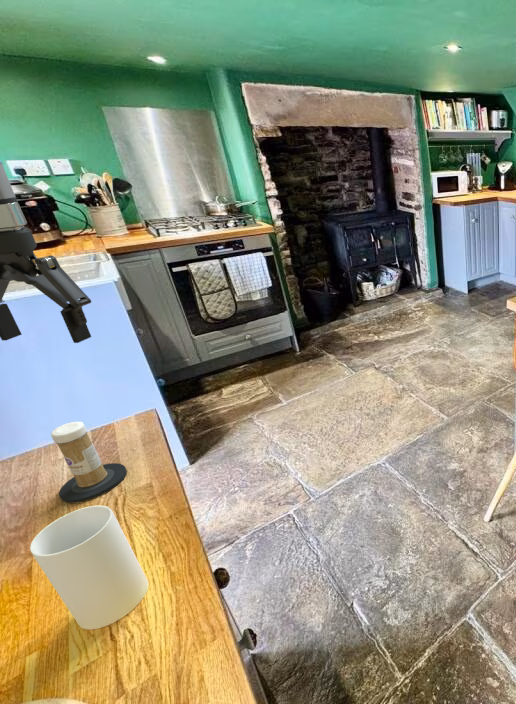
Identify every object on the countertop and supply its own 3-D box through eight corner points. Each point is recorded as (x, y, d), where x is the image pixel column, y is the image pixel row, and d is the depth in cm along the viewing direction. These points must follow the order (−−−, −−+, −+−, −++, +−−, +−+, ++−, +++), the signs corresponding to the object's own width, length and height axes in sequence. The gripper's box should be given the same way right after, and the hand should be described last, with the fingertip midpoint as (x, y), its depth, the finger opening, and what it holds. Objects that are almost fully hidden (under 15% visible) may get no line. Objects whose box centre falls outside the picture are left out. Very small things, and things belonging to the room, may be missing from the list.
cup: (65, 639, 58) (14, 565, 52) (92, 586, 65) (50, 515, 58) (137, 616, 61) (97, 543, 55) (156, 567, 68) (122, 498, 62)
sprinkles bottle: (71, 488, 81) (42, 435, 76) (92, 471, 86) (66, 420, 80) (95, 488, 82) (67, 435, 76) (114, 471, 86) (90, 420, 80)
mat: (45, 502, 79) (43, 498, 79) (94, 465, 89) (92, 462, 88) (95, 503, 79) (93, 500, 79) (139, 466, 88) (138, 463, 88)
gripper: (89, 227, 73) (129, 332, 82) (-49, 222, 73) (5, 328, 81) (45, 235, 66) (93, 349, 75) (-108, 229, 66) (-43, 345, 74)
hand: (47, 338), depth 78 cm, fingers open, 13 cm apart
